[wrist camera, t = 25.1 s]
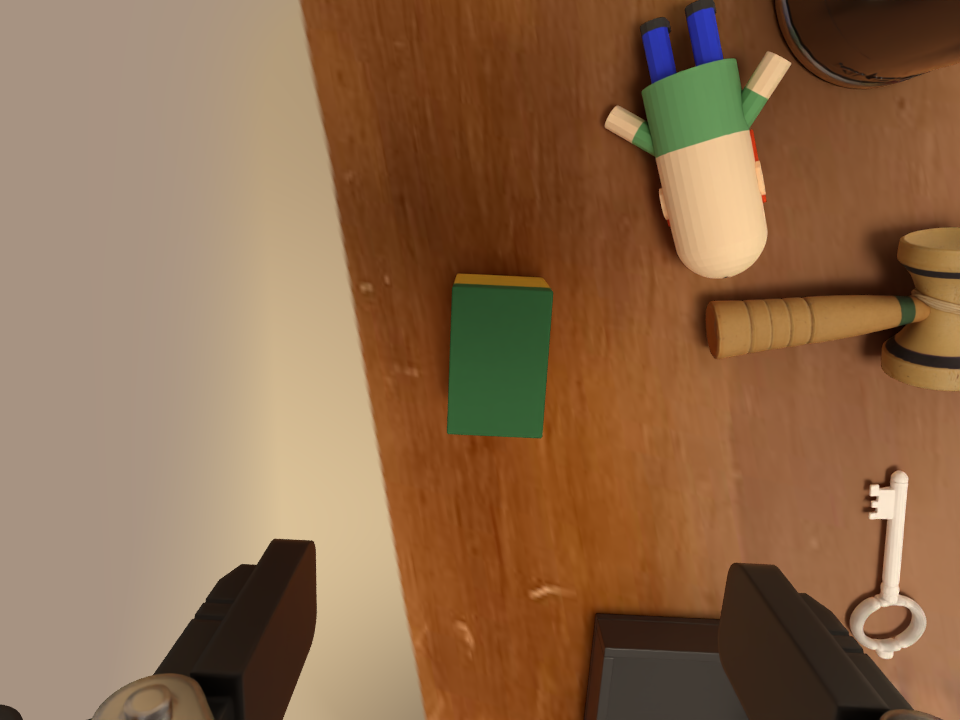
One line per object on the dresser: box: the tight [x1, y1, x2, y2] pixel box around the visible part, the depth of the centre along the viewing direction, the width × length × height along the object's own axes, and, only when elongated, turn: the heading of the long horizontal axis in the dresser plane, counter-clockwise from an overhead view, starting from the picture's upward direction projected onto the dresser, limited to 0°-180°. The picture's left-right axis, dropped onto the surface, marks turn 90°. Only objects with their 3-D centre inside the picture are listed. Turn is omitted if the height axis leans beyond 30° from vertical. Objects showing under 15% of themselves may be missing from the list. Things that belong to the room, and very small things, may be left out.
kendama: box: [705, 227, 960, 391], centre depth 31 cm, size 8×6×18 cm
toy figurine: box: [605, 0, 791, 278], centre depth 29 cm, size 8×4×12 cm
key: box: [850, 470, 926, 659], centre depth 36 cm, size 12×1×4 cm
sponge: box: [447, 273, 553, 438], centre depth 31 cm, size 7×4×5 cm, turn 177°
